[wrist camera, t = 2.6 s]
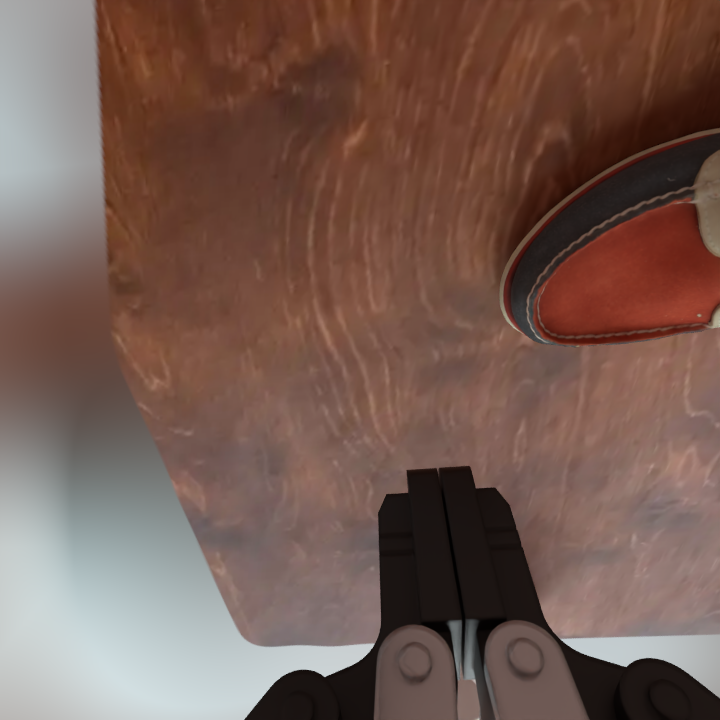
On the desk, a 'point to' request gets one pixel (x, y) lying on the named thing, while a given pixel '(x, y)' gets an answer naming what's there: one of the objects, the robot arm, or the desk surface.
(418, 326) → the desk surface
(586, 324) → the boat shoe
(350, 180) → the desk surface
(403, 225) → the desk surface
